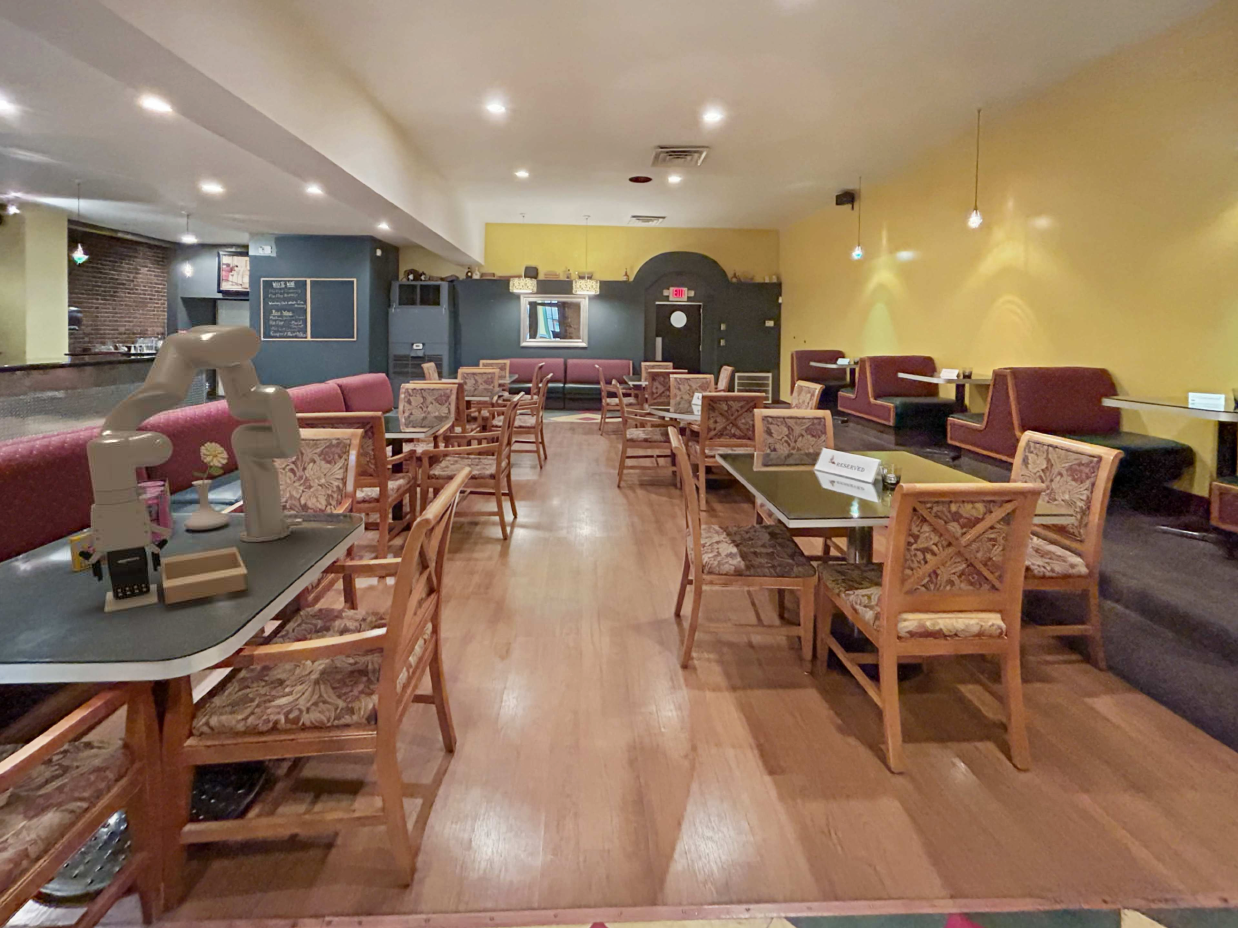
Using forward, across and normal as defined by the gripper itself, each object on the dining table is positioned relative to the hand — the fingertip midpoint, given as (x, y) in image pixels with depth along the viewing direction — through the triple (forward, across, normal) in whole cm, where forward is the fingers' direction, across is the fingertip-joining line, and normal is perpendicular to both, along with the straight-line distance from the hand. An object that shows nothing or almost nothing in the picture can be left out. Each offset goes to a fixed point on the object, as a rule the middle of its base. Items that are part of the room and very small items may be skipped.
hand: (128, 574), depth 146 cm
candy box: (+6, +6, -35) cm, 36 cm away
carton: (+5, -14, +1) cm, 15 cm away
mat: (+5, 0, 0) cm, 5 cm away
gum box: (+6, -5, -58) cm, 59 cm away
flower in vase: (+6, -18, -55) cm, 58 cm away
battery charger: (+5, 0, 0) cm, 5 cm away
